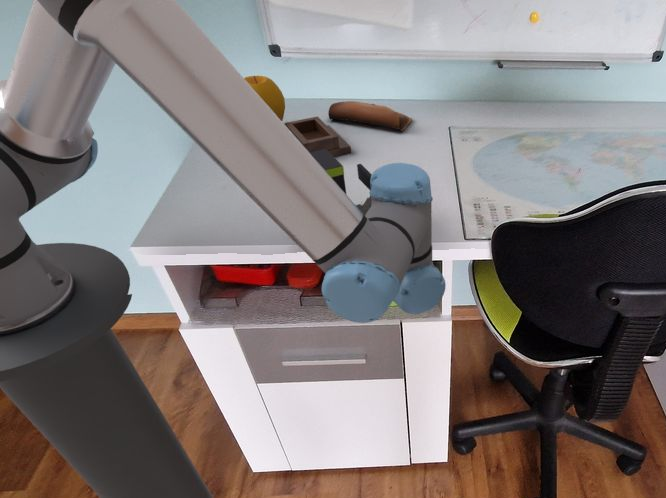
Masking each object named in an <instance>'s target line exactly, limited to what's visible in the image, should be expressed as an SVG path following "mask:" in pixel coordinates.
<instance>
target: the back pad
mask: <svg viewBox="0 0 666 498" xmlns="http://www.w3.org/2000/svg"><path fill="white" fill-rule="evenodd" d="M310 154H311V155H312V156H313V157H314V159H315V160H316V161H317V162H318V163H319V164H320V165H321V167H322V168H323V169H324V170H325V171H326V172H327V173H328V174H329V176H330V177H331V178H332V179H333V180H334V181H335V182H336V184H337V185H338V186H339V187H340V188H341V189H342V190H343V192H344V193H345V194H346V195H347V188H346V187H347V186H346V180H345V171H344V170H345V169H344V165H342V164H341V162H340V161H339V160H338V159H337V158H336V157H334V156H333V155H332V154H331V153H330V152H329V151H328V150H327V149H323V150H319V151H315V152H310ZM347 196H348V195H347Z"/></svg>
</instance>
